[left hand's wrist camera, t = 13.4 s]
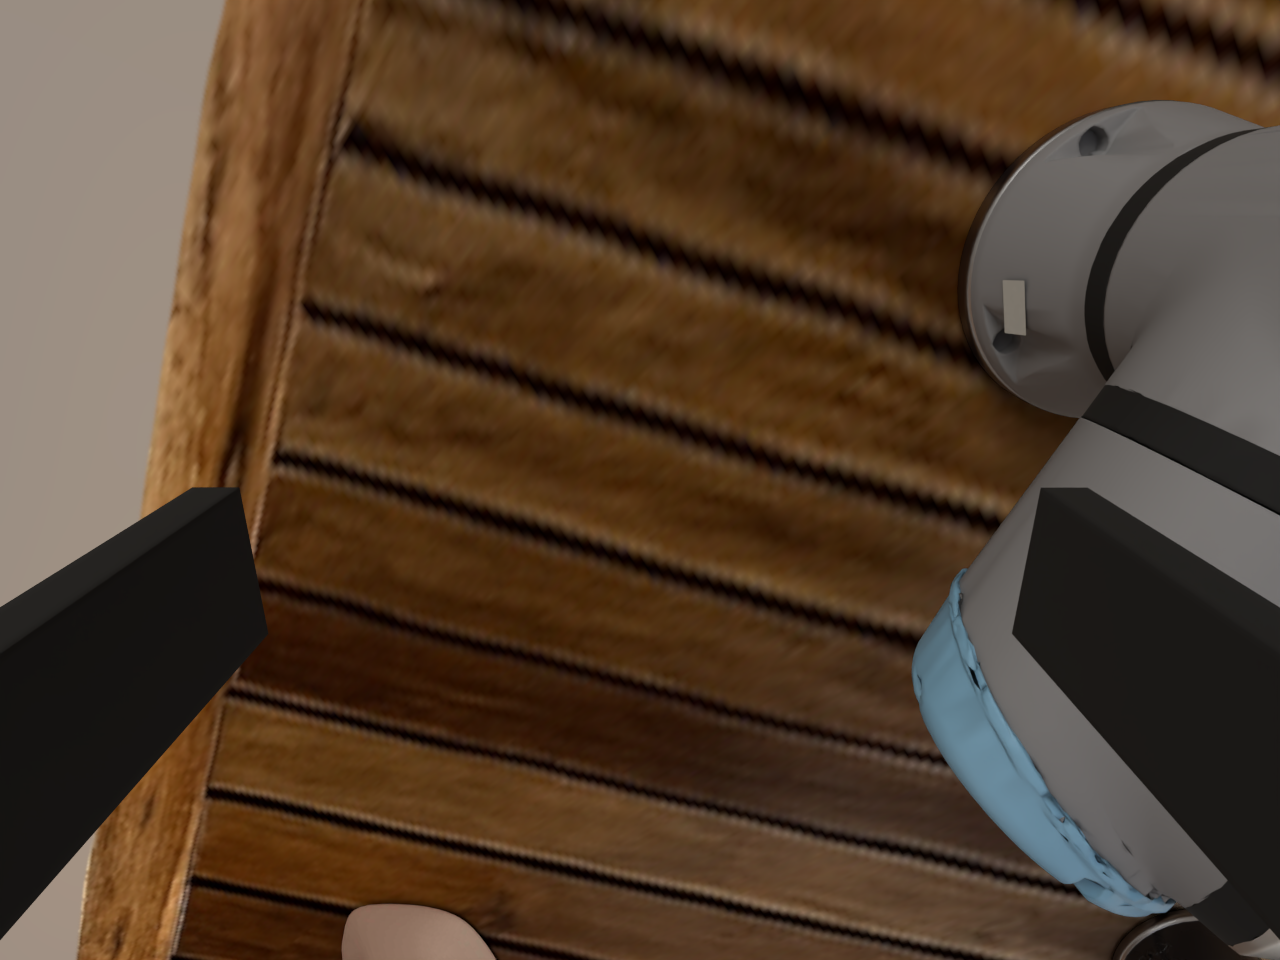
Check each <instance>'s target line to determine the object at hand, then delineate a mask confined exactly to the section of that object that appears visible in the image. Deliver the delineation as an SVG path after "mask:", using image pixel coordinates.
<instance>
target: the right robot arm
mask: <svg viewBox="0 0 1280 960" xmlns="http://www.w3.org/2000/svg"><path fill="white" fill-rule="evenodd" d="M1113 960H1262V959H1261V958H1258V957H1251V956H1244V955H1239V954H1238V953H1237V952H1236V951H1234V950H1233V949H1232V948H1230V947H1229V946H1227V945H1226V944H1225V943H1224V942H1223V941H1222V940H1221V939H1219V938H1218V937H1217V936H1216V935H1215V934H1214V933H1213V932H1211V931H1210V930H1209V929H1208V928H1207V927H1206V926H1205V925H1203V924H1202V923H1201V922H1200V921H1199V920H1198V919H1197V918H1195V917H1194V916H1193V915H1192V914H1191V913H1190V912H1189V911H1187V910H1178V911H1173V912H1169V913H1165V914H1162V915H1159V916H1156V917H1154V918H1152V919H1150V920H1147V921H1146V922H1144V923H1142V924H1140V925H1139V926H1137V927H1136V928H1135V929H1133V930H1132V931H1131V932H1130V933H1129V934H1128V935H1127V936H1126V937H1125V938H1124V939H1123V940H1122V941H1121V943H1120V944H1119V945H1118V947H1117V949H1116V951H1115V953H1114V956H1113Z"/></svg>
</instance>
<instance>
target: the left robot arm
mask: <svg viewBox="0 0 1280 960" xmlns="http://www.w3.org/2000/svg"><path fill="white" fill-rule="evenodd" d="M958 305H959V312H960V318H961V322H962V326H963V330H964V333H965V336H966V339H967V341H968V344H969V346H970V348H971V350H972V352H973V354H974V356H975V357H976V359H977V360H978V362H979V363H980V365H981V366H982V367H983V369H984V370H985V371H986V372H987V373H988V375H989V376H990V377H991V378H992V379H993V380H994V381H995V382H996V383H998V384H999V385H1000V386H1001V387H1003V388H1004V389H1005V390H1007V391H1008V392H1010V393H1011V394H1013V395H1015V396H1016V397H1018V398H1020V399H1022V400H1024V401H1026V402H1028V403H1030V404H1032V405H1034V406H1036V407H1038V408H1041V409H1043V410H1046V411H1049V412H1052V413H1055V414H1059V415H1063V416H1068V417H1076V418H1079V420H1078V421H1077V422H1076V424H1075V425H1074V426H1073V428H1072V429H1071V430H1070V432H1069V433H1068V435H1067V436H1066V437H1065V439H1064V440H1063V441H1062V443H1061V444H1060V445H1059V447H1058V448H1057V449H1056V451H1055V452H1054V453H1053V455H1052V456H1051V457H1050V459H1049V460H1048V462H1047V463H1046V464H1045V466H1044V467H1043V468H1042V470H1041V471H1040V472H1039V474H1038V475H1037V476H1036V478H1035V479H1034V480H1033V482H1032V483H1031V484H1030V486H1029V487H1028V489H1027V490H1026V491H1025V493H1024V494H1023V495H1022V497H1021V498H1020V499H1019V501H1018V502H1017V503H1016V505H1015V506H1014V507H1013V509H1012V510H1011V511H1010V513H1009V514H1008V516H1007V517H1006V518H1005V520H1004V521H1003V522H1002V524H1001V525H1000V526H999V528H998V529H997V530H996V532H995V533H994V534H993V536H992V537H991V538H990V540H989V541H988V543H987V544H986V545H985V547H984V548H983V549H982V551H981V552H980V553H979V555H978V556H977V557H976V559H975V560H974V561H973V563H972V564H971V565H970V567H969V568H968V569H962V570H961V571H960V572H959V573H958V574H957V575H956V577H955V578H954V580H953V582H952V584H951V588H950V594H949V596H948V598H947V599H946V601H945V602H944V604H943V605H942V607H941V608H940V610H939V611H938V613H937V614H936V616H935V618H934V619H933V621H932V622H931V624H930V625H929V627H928V628H927V630H926V631H925V633H924V634H923V636H922V638H921V639H920V641H919V642H918V645H917V647H916V650H915V653H914V657H913V662H912V681H913V685H914V692H915V695H916V697H917V700H918V702H919V706H920V712H921V714H922V718H923V720H924V722H925V724H926V727H927V729H928V731H929V732H930V734H931V736H932V738H933V740H934V742H935V744H936V745H937V747H938V749H939V751H940V752H941V754H942V755H943V757H944V759H945V760H946V762H947V763H948V765H949V766H950V768H951V769H952V770H953V772H954V773H955V775H956V776H957V777H958V779H959V780H960V782H961V783H962V784H963V785H964V787H965V788H966V789H967V791H968V792H969V793H970V794H971V796H972V797H973V798H974V799H975V800H976V802H977V803H978V804H979V805H980V806H981V808H982V809H983V810H984V811H985V812H986V813H987V815H988V816H989V817H990V818H991V819H992V820H993V821H994V822H995V823H996V824H997V825H998V827H999V828H1000V829H1001V830H1002V831H1003V832H1004V833H1005V834H1006V835H1007V836H1008V837H1009V838H1010V839H1011V840H1012V841H1013V842H1014V843H1015V844H1016V845H1017V846H1018V847H1019V848H1020V849H1021V850H1022V851H1023V852H1024V853H1025V854H1027V855H1028V856H1029V857H1030V858H1031V859H1032V860H1033V861H1035V862H1036V863H1037V864H1038V865H1039V866H1040V867H1042V868H1043V869H1044V870H1045V871H1047V872H1048V873H1049V874H1050V875H1052V876H1053V877H1054V878H1056V879H1057V880H1058V881H1060V882H1061V883H1064V884H1072V883H1073V884H1074V885H1075V886H1076V887H1077V888H1078V890H1079V891H1080V892H1081V893H1082V895H1083V896H1084V897H1085V898H1086V899H1087V900H1088V901H1090V902H1091V903H1093V904H1095V905H1097V906H1099V907H1101V908H1103V909H1105V910H1108V911H1110V912H1112V913H1115V914H1119V915H1122V916H1128V917H1142V916H1147V915H1149V914H1152V913H1166V912H1167V911H1168V910H1169V909H1170V908H1171V907H1172V906H1173V905H1174V904H1175V903H1176V902H1177V903H1179V904H1180V905H1181V906H1182V907H1184V908H1185V909H1186V910H1187V911H1189V912H1190V913H1191V914H1192V915H1193V916H1194V917H1195V918H1197V919H1198V920H1199V921H1200V922H1201V923H1202V924H1203V925H1205V926H1206V927H1207V928H1208V929H1209V930H1210V931H1211V932H1213V933H1214V934H1215V935H1216V936H1217V937H1218V938H1219V939H1221V940H1222V941H1223V942H1224V943H1225V944H1226V945H1227V946H1229V947H1230V948H1232V949H1233V950H1234V951H1236V952H1237V953H1238V954H1239V955H1244V956H1251V957H1258V958H1266V959H1273V960H1280V126H1274V127H1267V128H1264V127H1262V126H1259V125H1257V124H1254V123H1251V122H1249V121H1246V120H1243V119H1241V118H1238V117H1235V116H1233V115H1230V114H1227V113H1225V112H1222V111H1219V110H1217V109H1214V108H1211V107H1208V106H1204V105H1200V104H1195V103H1189V102H1179V101H1171V100H1152V101H1141V102H1134V103H1129V104H1124V105H1119V106H1115V107H1110V108H1105V109H1102V110H1098V111H1095V112H1092V113H1088V114H1086V115H1083V116H1081V117H1079V118H1076V119H1074V120H1071V121H1070V122H1068V123H1066V124H1064V125H1062V126H1060V127H1058V128H1056V129H1055V130H1053V131H1052V132H1050V133H1048V134H1047V135H1045V136H1044V137H1042V138H1041V139H1040V140H1038V141H1037V142H1036V143H1034V144H1033V145H1032V146H1030V147H1029V148H1028V149H1027V150H1026V151H1025V152H1024V153H1023V154H1021V155H1020V156H1019V157H1018V158H1017V159H1016V160H1015V161H1014V162H1013V163H1012V164H1011V165H1010V166H1009V167H1008V169H1007V170H1006V171H1005V172H1004V173H1003V174H1002V176H1001V177H1000V178H999V179H998V181H997V182H996V183H995V184H994V186H993V187H992V189H991V190H990V192H989V193H988V195H987V196H986V198H985V199H984V201H983V203H982V205H981V207H980V208H979V210H978V212H977V214H976V216H975V218H974V221H973V223H972V225H971V227H970V230H969V233H968V236H967V239H966V241H965V245H964V249H963V253H962V257H961V262H960V268H959V276H958ZM267 635H268V630H267V625H266V620H265V615H264V610H263V605H262V600H261V595H260V590H259V585H258V580H257V574H256V569H255V564H254V559H253V554H252V549H251V544H250V539H249V534H248V529H247V524H246V519H245V514H244V509H243V504H242V499H241V494H240V489H239V488H191V489H189V490H188V491H186V492H185V493H183V494H181V495H180V496H178V497H176V498H175V499H173V500H172V501H170V502H168V503H167V504H165V505H164V506H162V507H160V508H159V509H157V510H156V511H154V512H152V513H151V514H149V515H148V516H146V517H144V518H143V519H141V520H140V521H138V522H136V523H135V524H133V525H132V526H130V527H128V528H127V529H125V530H124V531H122V532H120V533H119V534H117V535H116V536H114V537H112V538H111V539H109V540H107V541H106V542H104V543H103V544H101V545H99V546H98V547H96V548H95V549H93V550H92V551H90V552H88V553H87V554H85V555H83V556H82V557H80V558H79V559H77V560H75V561H74V562H72V563H71V564H69V565H67V566H66V567H64V568H63V569H61V570H59V571H58V572H56V573H55V574H53V575H51V576H50V577H48V578H46V579H45V580H43V581H42V582H40V583H39V584H37V585H35V586H34V587H32V588H30V589H29V590H27V591H26V592H24V593H22V594H21V595H19V596H18V597H16V598H14V599H13V600H11V601H10V602H8V603H6V604H5V605H3V606H2V607H0V940H1V939H2V937H3V936H4V935H5V934H6V933H7V932H8V931H9V929H10V928H11V927H12V926H13V925H14V924H15V923H16V921H17V920H18V919H19V918H20V917H21V916H22V915H23V913H24V912H25V911H26V910H27V909H28V908H29V907H30V905H31V904H32V903H33V902H34V901H35V900H36V899H37V897H38V896H39V895H40V894H41V893H42V892H43V891H44V889H45V888H46V887H47V886H48V885H49V884H50V883H51V881H52V880H53V879H54V878H55V877H56V876H57V875H58V873H59V872H60V871H61V870H62V869H63V868H64V867H65V865H66V864H67V863H68V862H69V861H70V860H71V858H72V857H73V856H74V855H75V854H76V853H77V852H78V851H79V849H80V848H81V847H82V846H83V845H84V844H85V843H86V841H87V840H88V839H89V838H90V837H91V836H92V835H93V833H94V832H95V831H96V830H97V829H98V828H99V827H100V825H101V824H102V823H103V822H104V821H105V820H106V819H107V817H108V816H109V815H110V814H111V813H112V812H113V811H114V809H115V808H116V807H117V806H118V805H119V804H120V803H121V801H122V800H123V799H124V798H125V797H126V796H127V795H128V793H129V792H130V791H131V790H132V789H133V788H134V787H135V785H136V784H137V783H138V782H139V781H140V780H141V779H142V777H143V776H144V775H145V774H146V773H147V772H148V771H149V769H150V768H151V767H152V766H153V765H154V764H155V763H156V761H157V760H158V759H159V758H160V757H161V756H162V755H163V753H164V752H165V751H166V750H167V749H168V748H169V747H170V745H171V744H172V743H173V742H174V741H175V740H176V739H177V737H178V736H179V735H180V734H181V733H182V732H183V731H184V729H185V728H186V727H187V726H188V725H189V724H190V723H191V721H192V720H193V719H194V718H195V717H196V716H197V715H198V713H199V712H200V711H201V710H202V709H203V708H204V707H205V705H206V704H207V703H208V702H209V701H210V700H211V699H212V697H213V696H214V695H215V694H216V693H217V692H218V691H219V689H220V688H221V687H222V686H223V685H224V684H225V683H226V681H227V680H228V679H229V678H230V677H231V676H232V675H233V673H234V672H235V671H236V670H237V669H238V668H239V667H240V665H241V664H242V663H243V662H244V661H245V660H246V659H247V657H248V656H249V655H250V654H251V653H252V652H253V651H254V649H255V648H256V647H257V646H258V645H259V644H260V643H261V641H262V640H263V639H264V638H265V637H266V636H267Z"/></svg>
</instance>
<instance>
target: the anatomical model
mask: <svg viewBox="0 0 1280 960" xmlns="http://www.w3.org/2000/svg"><path fill="white" fill-rule="evenodd" d="M342 959H343V960H496V958H495V957H494V955H493V954H492V952H491V951H490V949H489V948H488V946H487V945H486V943H485V942H484V941H483V939H482V938H481V937H480V936H479V935H478V933H477V932H476V931H475V930H474V929H473V928H472V927H471V926H470V925H469V924H468V923H467V922H465V921H464V920H462V919H461V918H459V917H457V916H456V915H454V914H451V913H449V912H447V911H443V910H440V909H436V908H431V907H426V906H418V905H407V904H374V905H367V906H362V907H359V908H357V909H355V910H354V911H353V912H352V913H351V914H350V915H349V917H348V919H347V922H346V925H345V929H344V935H343V941H342Z"/></svg>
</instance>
